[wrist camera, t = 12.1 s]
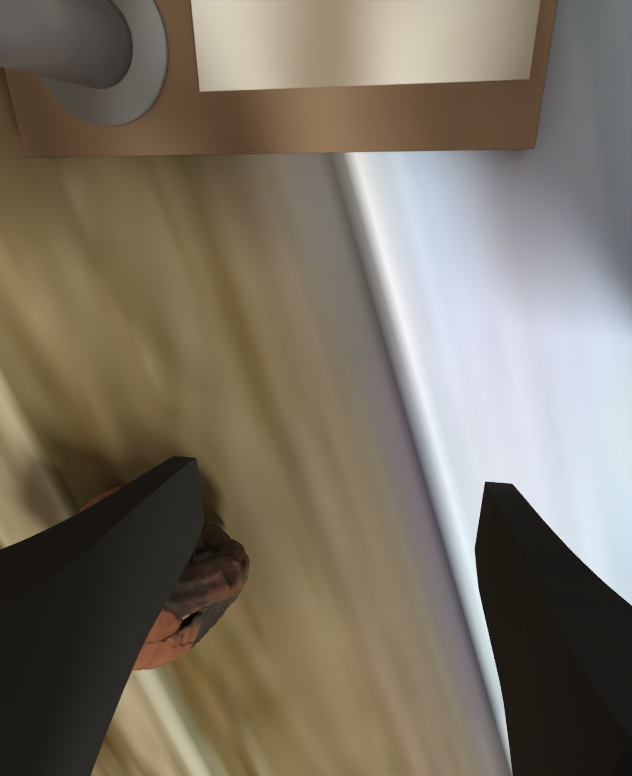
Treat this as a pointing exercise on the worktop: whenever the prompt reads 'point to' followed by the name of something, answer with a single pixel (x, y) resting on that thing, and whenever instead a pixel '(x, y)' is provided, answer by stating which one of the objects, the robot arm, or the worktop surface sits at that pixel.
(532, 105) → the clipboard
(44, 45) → the marker
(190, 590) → the reddish-brown lumpy part
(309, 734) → the worktop surface
